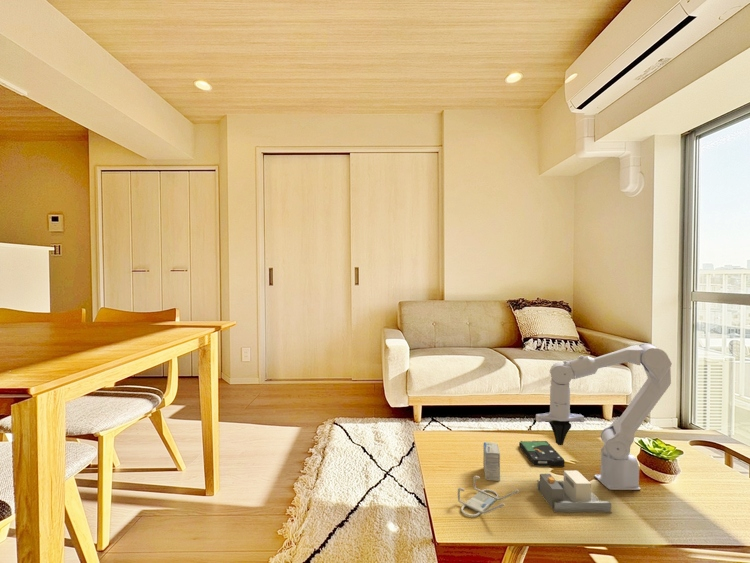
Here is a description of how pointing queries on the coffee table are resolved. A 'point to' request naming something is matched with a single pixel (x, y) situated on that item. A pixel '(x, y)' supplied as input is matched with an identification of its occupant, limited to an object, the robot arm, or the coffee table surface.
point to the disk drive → (541, 453)
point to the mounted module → (551, 489)
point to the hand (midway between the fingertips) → (559, 443)
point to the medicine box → (491, 461)
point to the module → (576, 486)
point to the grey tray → (579, 504)
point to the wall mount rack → (482, 500)
